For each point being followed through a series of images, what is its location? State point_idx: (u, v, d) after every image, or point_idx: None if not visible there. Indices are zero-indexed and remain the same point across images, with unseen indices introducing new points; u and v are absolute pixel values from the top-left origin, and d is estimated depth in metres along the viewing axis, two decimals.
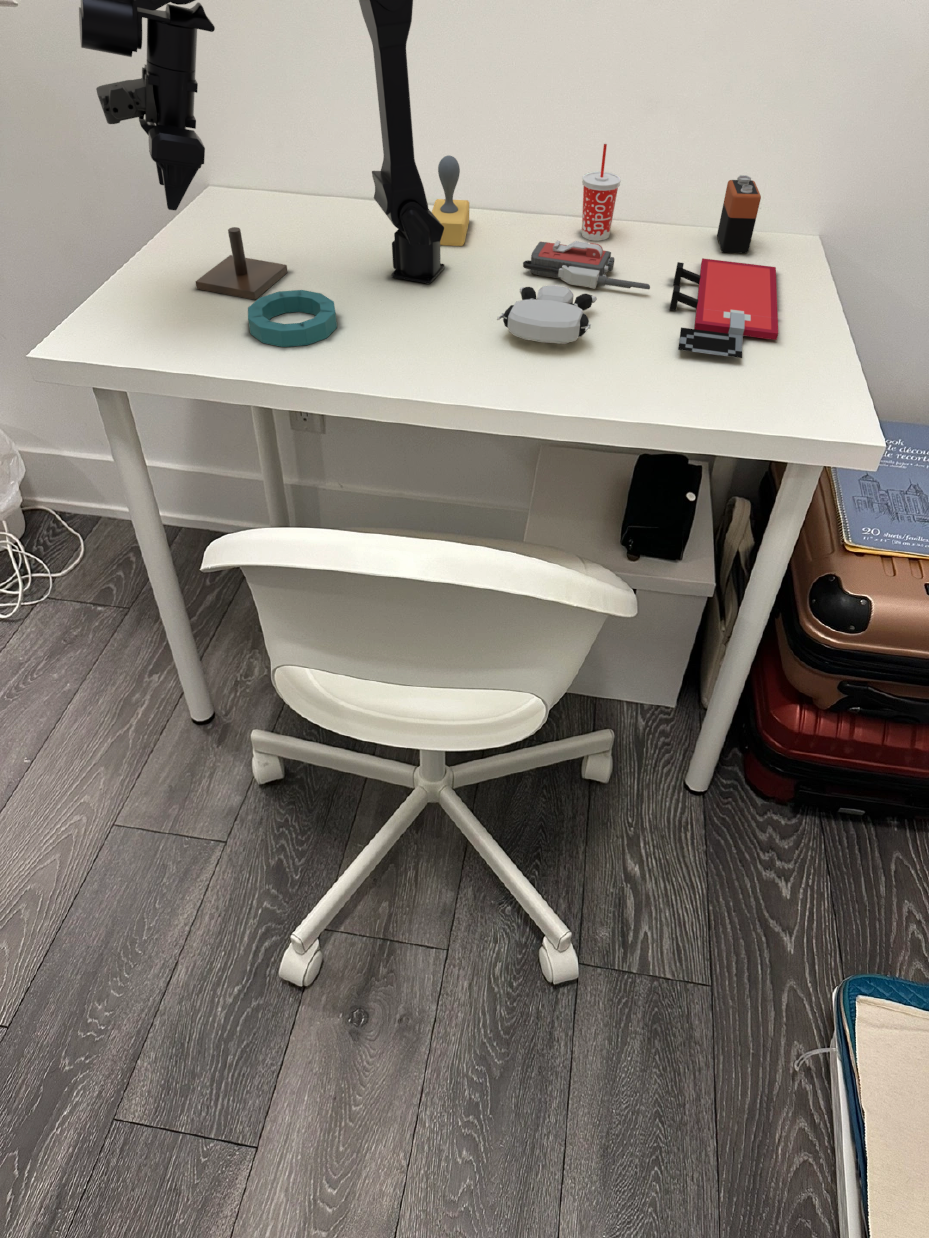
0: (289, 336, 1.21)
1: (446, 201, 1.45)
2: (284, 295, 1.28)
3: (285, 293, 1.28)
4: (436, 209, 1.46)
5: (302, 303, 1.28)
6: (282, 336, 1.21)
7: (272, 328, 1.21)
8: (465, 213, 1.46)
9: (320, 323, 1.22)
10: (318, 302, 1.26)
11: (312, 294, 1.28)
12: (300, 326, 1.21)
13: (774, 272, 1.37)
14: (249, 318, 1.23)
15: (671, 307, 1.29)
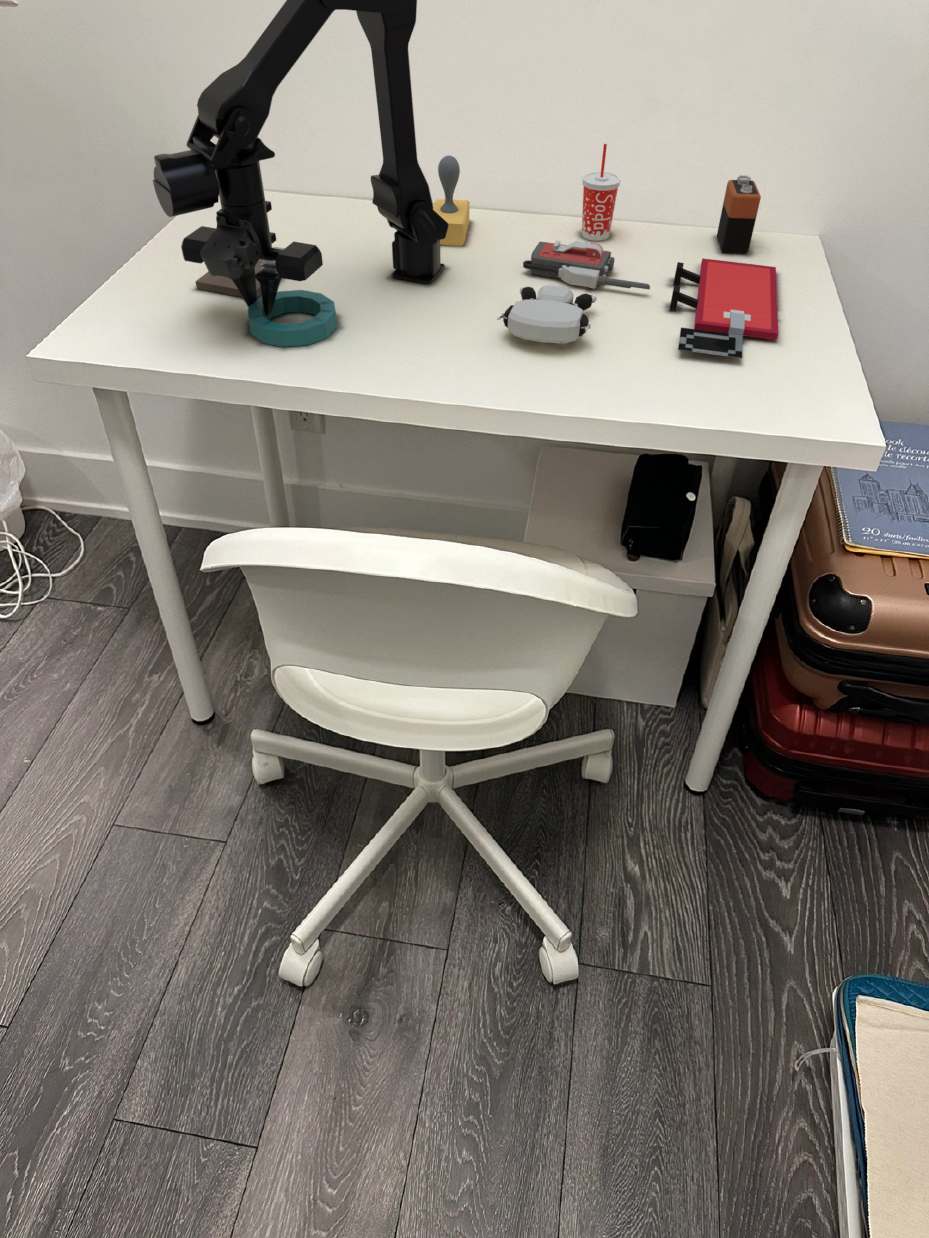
0: (289, 336, 1.21)
1: (446, 201, 1.45)
2: (284, 295, 1.28)
3: (285, 293, 1.28)
4: (436, 209, 1.46)
5: (302, 303, 1.28)
6: (282, 336, 1.21)
7: (272, 328, 1.21)
8: (465, 213, 1.46)
9: (320, 323, 1.22)
10: (318, 302, 1.26)
11: (312, 294, 1.28)
12: (300, 326, 1.21)
13: (774, 272, 1.37)
14: (249, 318, 1.23)
15: (671, 307, 1.29)
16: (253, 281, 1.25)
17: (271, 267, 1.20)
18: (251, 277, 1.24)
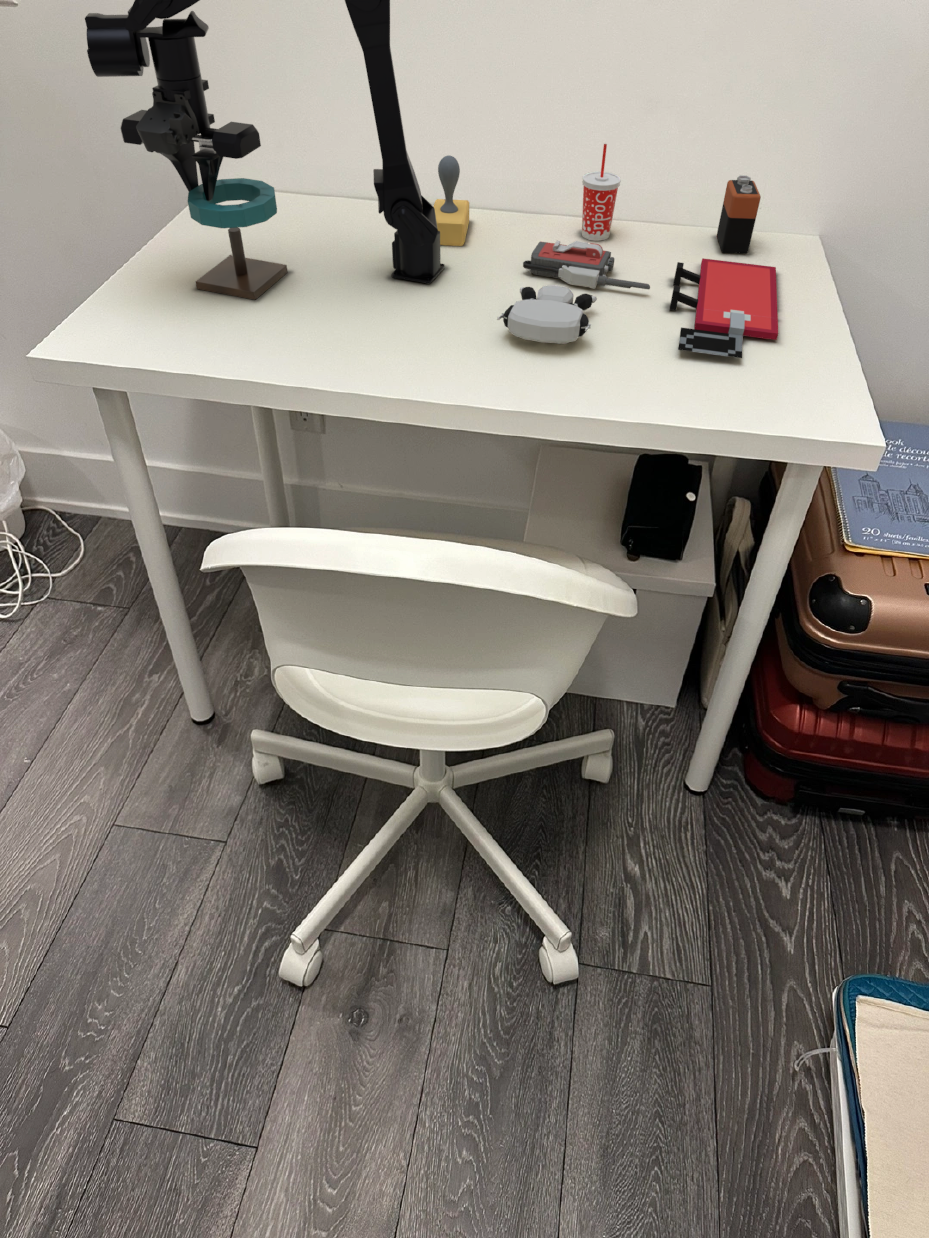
0: (227, 217, 1.22)
1: (446, 201, 1.45)
2: (225, 182, 1.29)
3: (227, 180, 1.29)
4: (436, 209, 1.46)
5: (243, 190, 1.29)
6: (220, 216, 1.22)
7: (210, 208, 1.22)
8: (465, 213, 1.46)
9: (258, 205, 1.23)
10: (258, 188, 1.27)
11: (253, 182, 1.29)
12: (238, 207, 1.22)
13: (774, 272, 1.37)
14: (189, 200, 1.24)
15: (671, 307, 1.29)
16: (193, 166, 1.26)
17: (209, 147, 1.21)
18: (191, 162, 1.26)
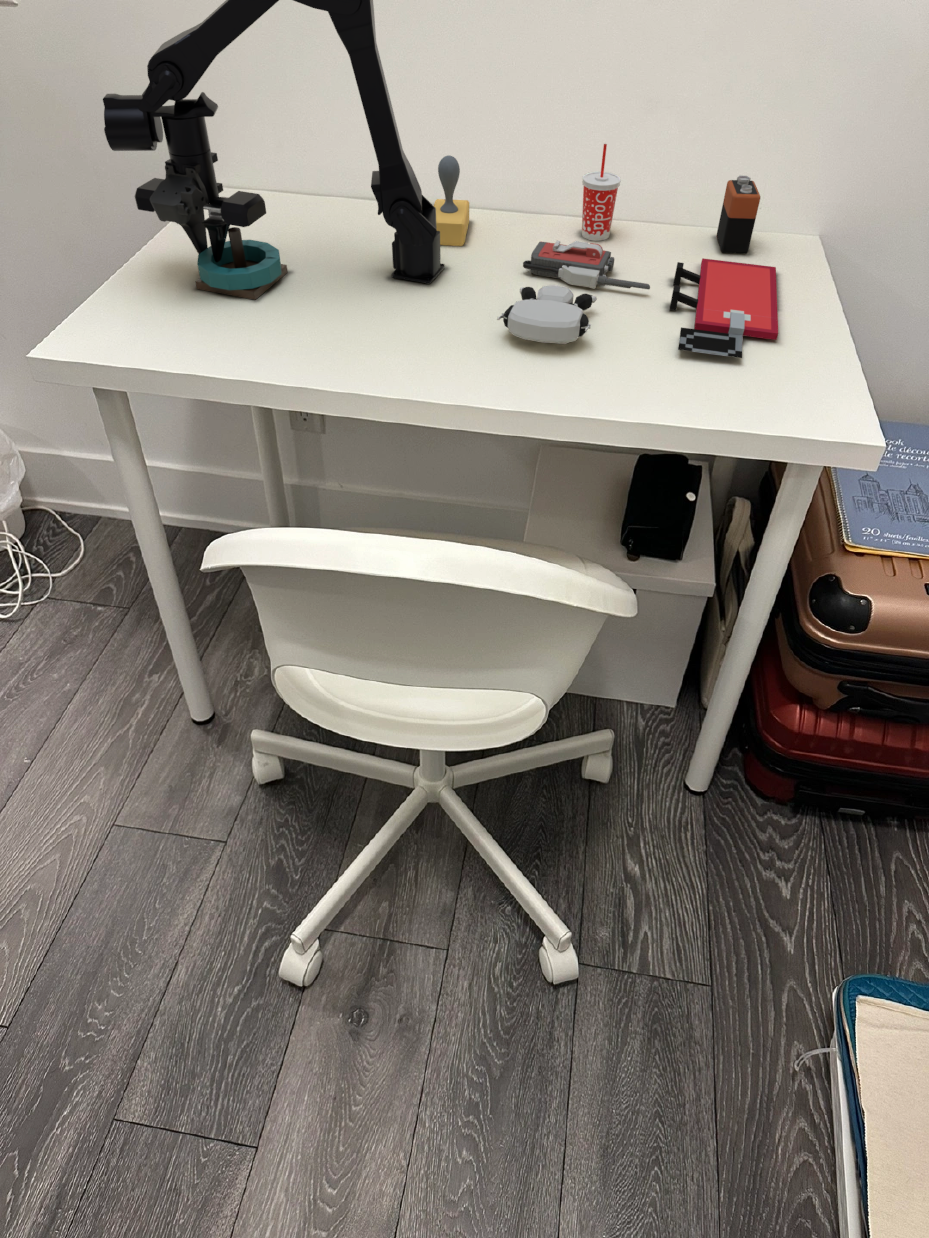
0: (235, 280, 1.30)
1: (446, 201, 1.45)
2: None
3: None
4: (436, 209, 1.46)
5: (250, 252, 1.37)
6: (228, 280, 1.30)
7: (219, 272, 1.30)
8: (465, 213, 1.46)
9: (264, 268, 1.31)
10: (264, 250, 1.35)
11: (259, 243, 1.37)
12: (245, 270, 1.30)
13: (774, 272, 1.37)
14: (198, 263, 1.32)
15: (671, 307, 1.29)
16: (203, 230, 1.34)
17: (218, 215, 1.29)
18: (201, 226, 1.33)
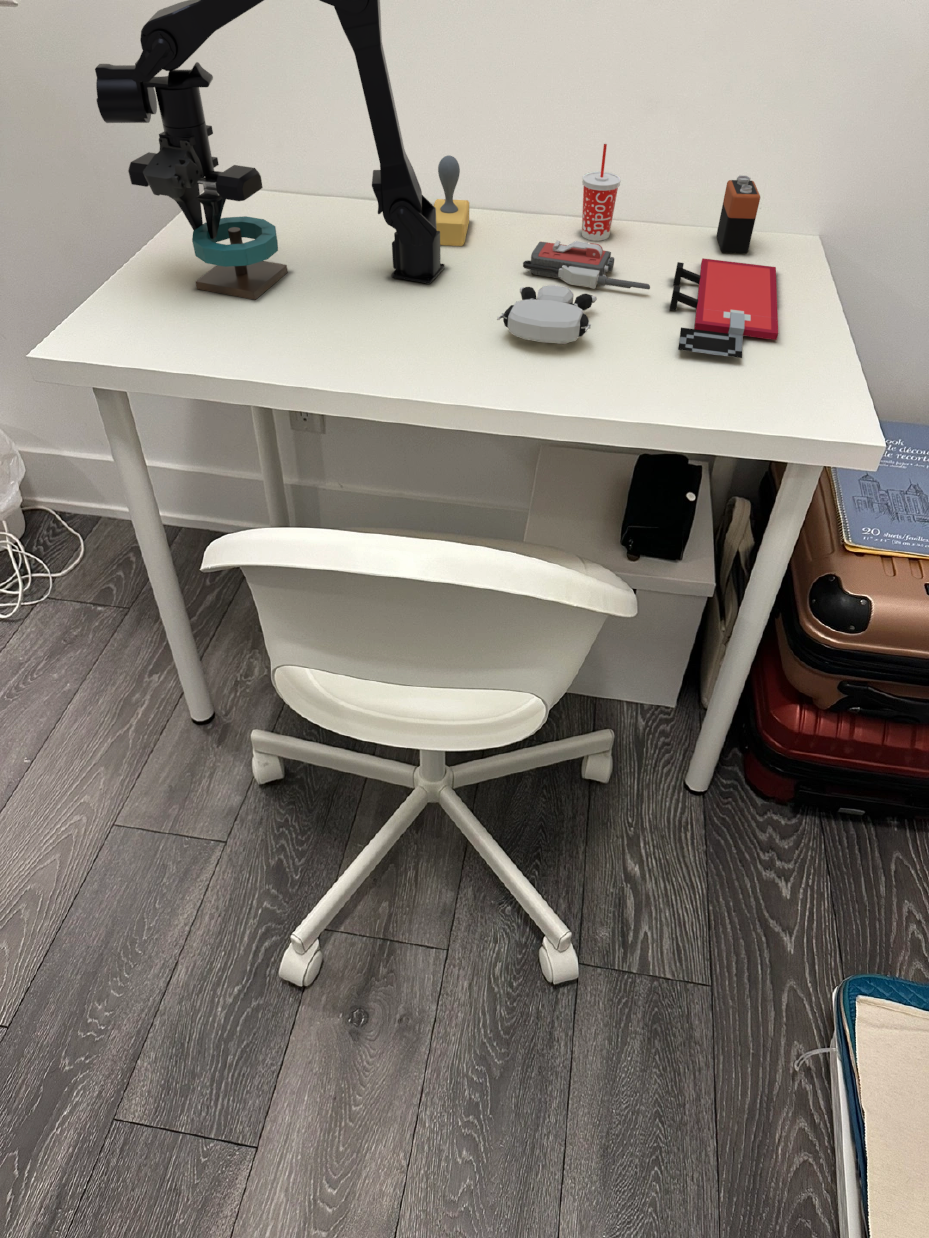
0: (230, 256, 1.27)
1: (446, 201, 1.45)
2: (228, 221, 1.34)
3: (230, 219, 1.35)
4: (436, 209, 1.46)
5: (246, 228, 1.34)
6: (224, 256, 1.27)
7: (214, 248, 1.27)
8: (465, 213, 1.46)
9: (260, 244, 1.28)
10: (260, 226, 1.33)
11: (255, 220, 1.34)
12: (241, 246, 1.27)
13: (774, 272, 1.37)
14: (193, 239, 1.29)
15: (671, 307, 1.29)
16: (198, 206, 1.32)
17: (213, 189, 1.26)
18: (196, 202, 1.31)
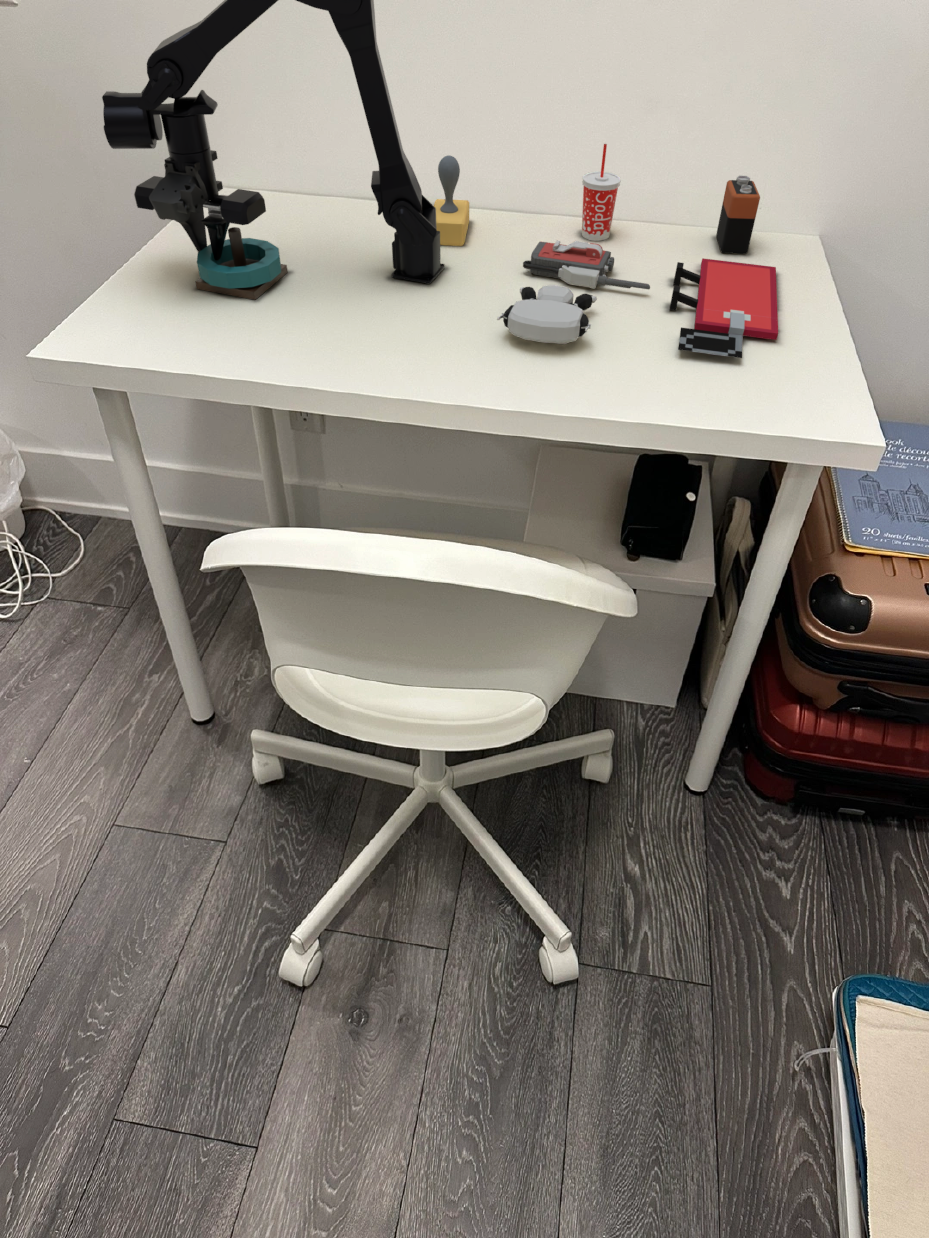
0: (234, 278, 1.30)
1: (446, 201, 1.45)
2: None
3: None
4: (436, 209, 1.46)
5: (249, 250, 1.37)
6: (228, 278, 1.30)
7: (218, 270, 1.29)
8: (465, 213, 1.46)
9: (264, 266, 1.31)
10: (264, 248, 1.35)
11: (258, 242, 1.36)
12: (245, 269, 1.30)
13: (774, 272, 1.37)
14: (198, 262, 1.31)
15: (671, 307, 1.29)
16: (203, 228, 1.34)
17: (217, 213, 1.28)
18: (201, 224, 1.33)
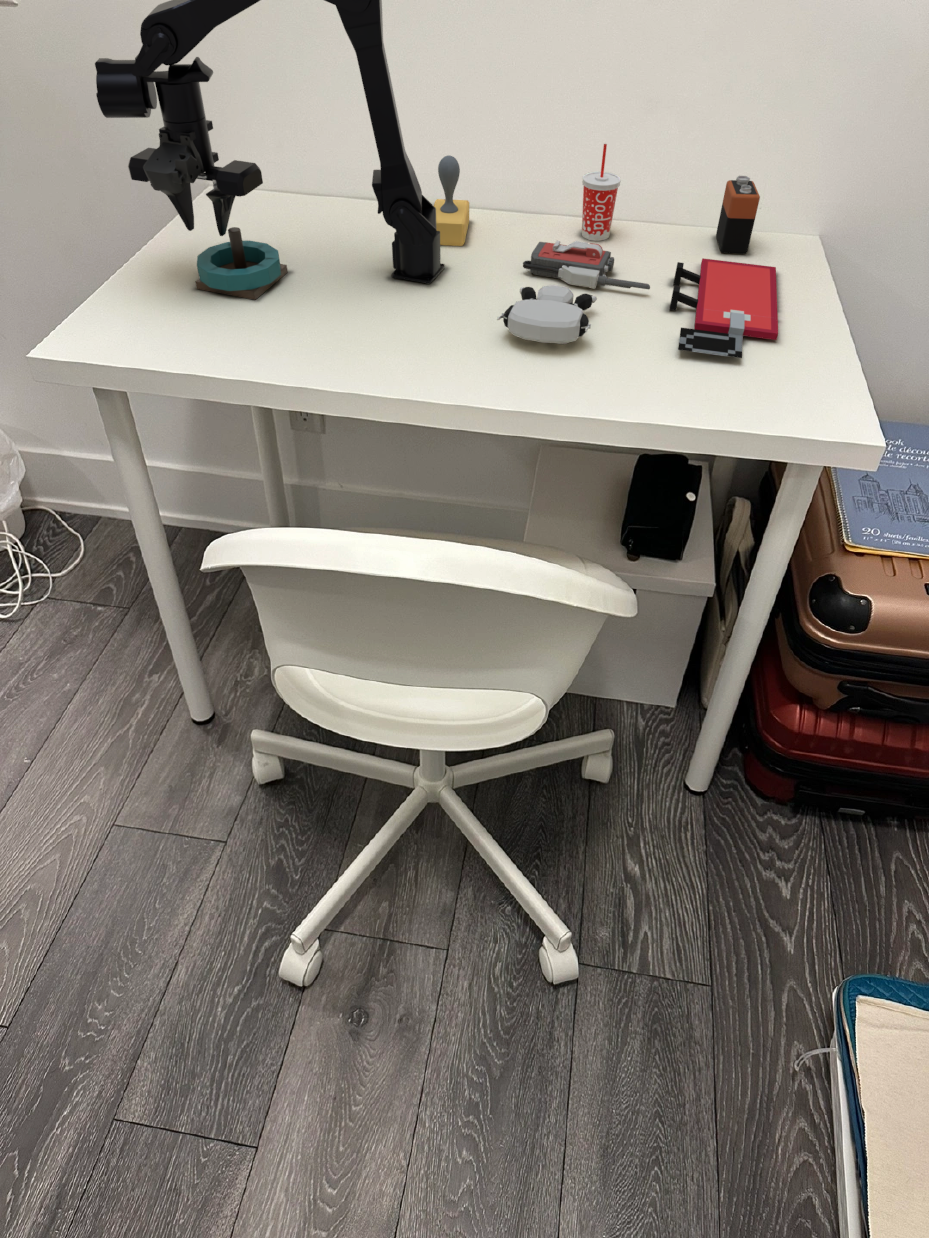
0: (234, 280, 1.30)
1: (446, 201, 1.45)
2: None
3: None
4: (436, 209, 1.46)
5: (249, 252, 1.37)
6: (228, 280, 1.30)
7: (218, 273, 1.30)
8: (465, 213, 1.46)
9: (263, 269, 1.31)
10: (263, 251, 1.35)
11: (258, 244, 1.37)
12: (244, 271, 1.30)
13: (774, 272, 1.37)
14: (198, 264, 1.32)
15: (671, 307, 1.29)
16: (189, 200, 1.32)
17: None
18: (187, 196, 1.31)
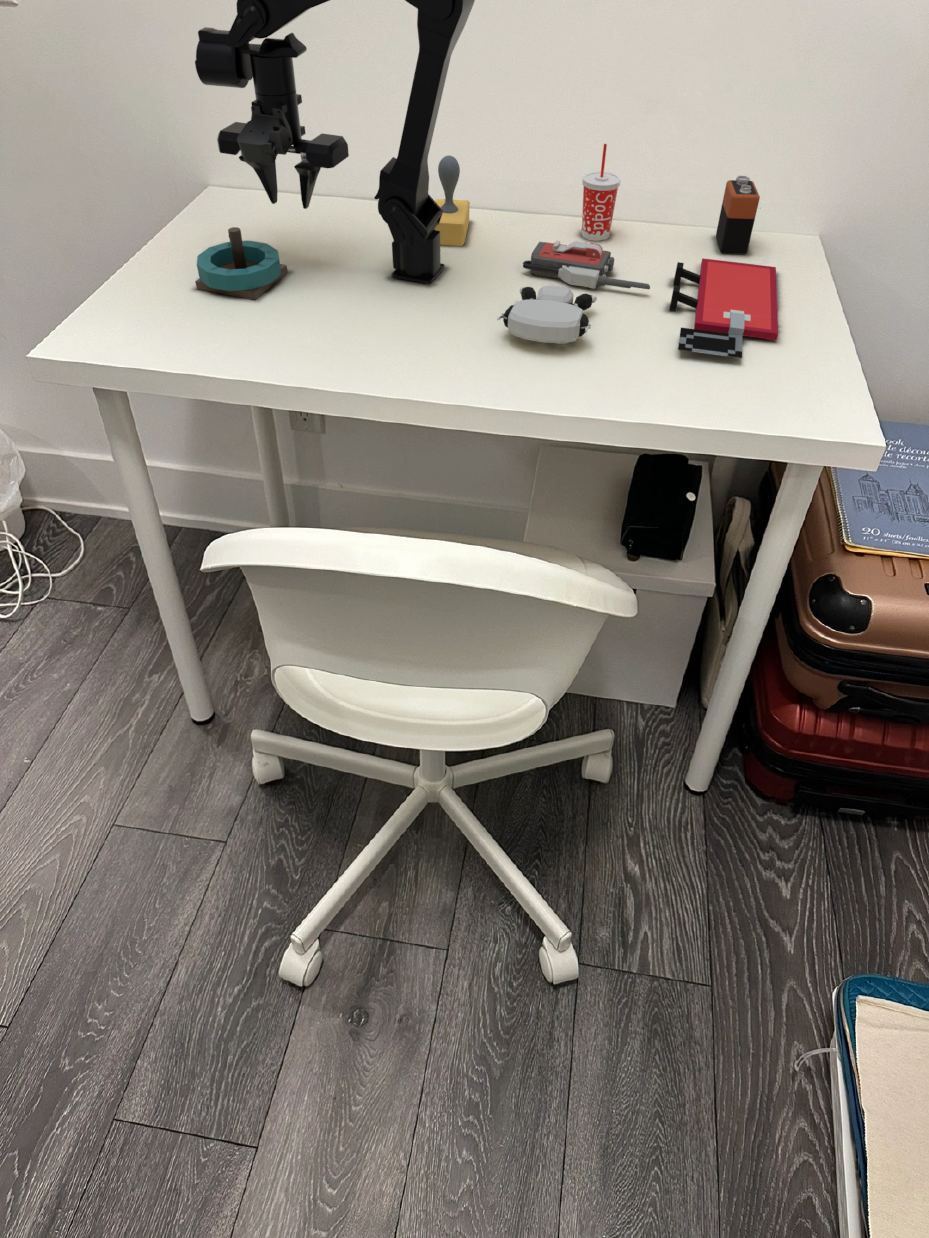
0: (234, 280, 1.30)
1: (446, 201, 1.45)
2: None
3: None
4: None
5: (249, 252, 1.37)
6: (228, 280, 1.30)
7: (218, 273, 1.30)
8: (465, 213, 1.46)
9: (263, 269, 1.31)
10: (263, 251, 1.35)
11: (258, 244, 1.37)
12: (244, 271, 1.30)
13: (774, 272, 1.37)
14: (198, 264, 1.32)
15: (671, 307, 1.29)
16: (274, 173, 1.35)
17: None
18: (272, 169, 1.34)
